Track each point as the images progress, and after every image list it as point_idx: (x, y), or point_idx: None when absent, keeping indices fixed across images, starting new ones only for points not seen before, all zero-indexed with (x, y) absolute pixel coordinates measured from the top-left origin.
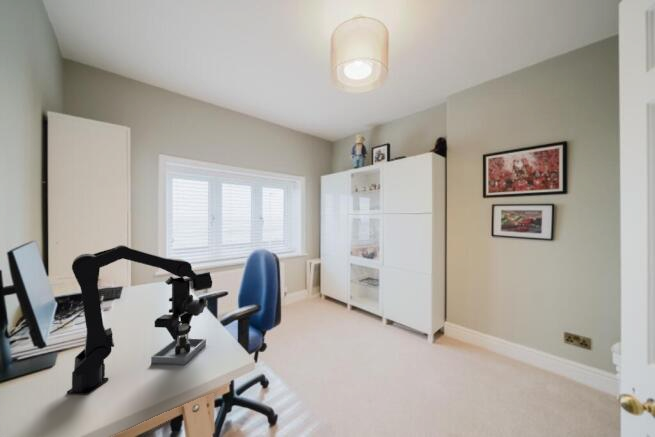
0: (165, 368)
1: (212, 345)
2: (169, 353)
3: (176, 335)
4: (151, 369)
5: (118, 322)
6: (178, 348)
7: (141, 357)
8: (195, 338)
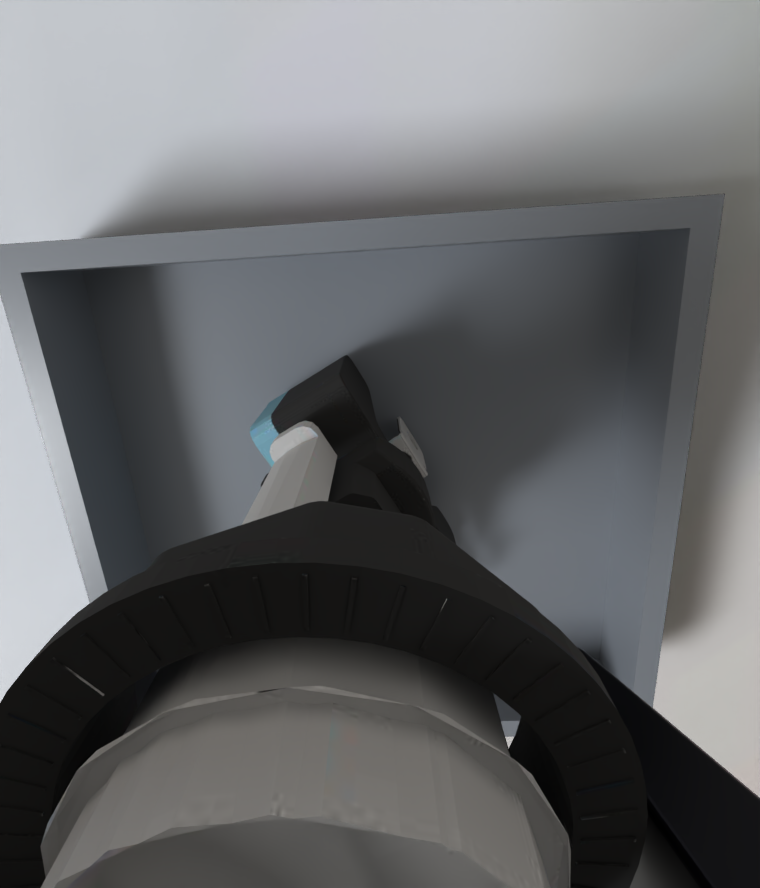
0: (713, 439)
1: (40, 107)
2: None
3: (687, 740)
4: (718, 586)
5: None
6: (436, 520)
7: None
8: (50, 465)
